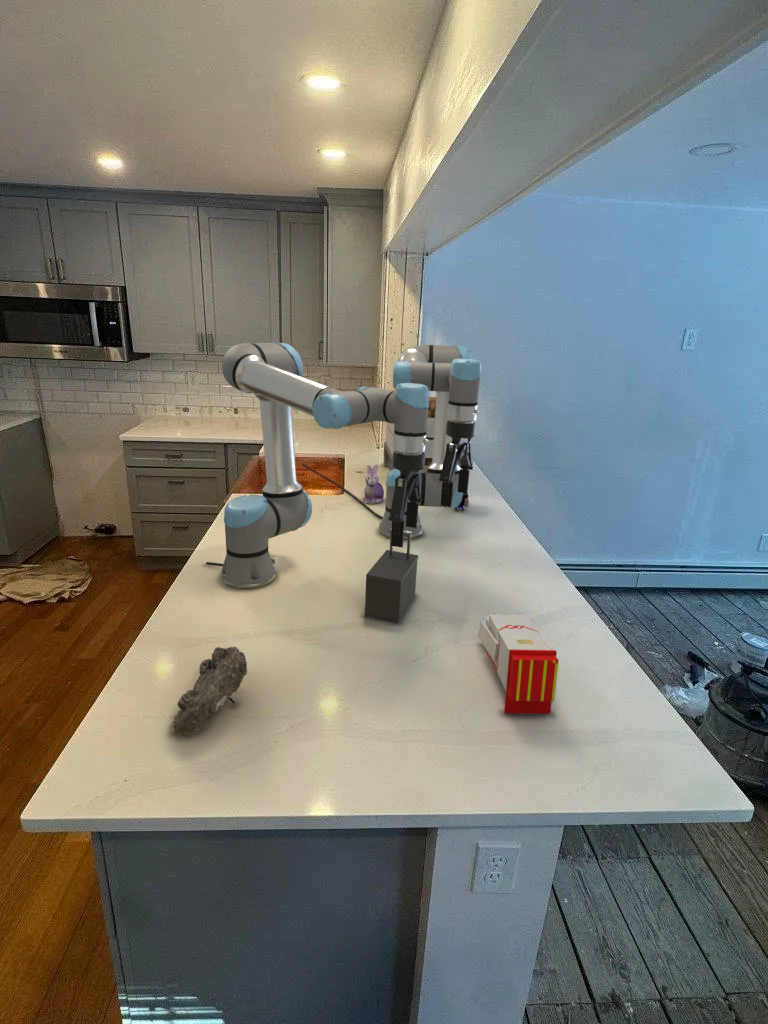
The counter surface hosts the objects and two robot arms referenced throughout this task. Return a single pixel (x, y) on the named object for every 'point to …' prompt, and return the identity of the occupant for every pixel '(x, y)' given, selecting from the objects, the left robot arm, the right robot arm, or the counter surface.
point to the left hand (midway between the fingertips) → (404, 536)
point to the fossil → (211, 689)
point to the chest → (389, 597)
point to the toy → (521, 662)
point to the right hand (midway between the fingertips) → (454, 499)
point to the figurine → (373, 486)
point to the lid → (393, 564)
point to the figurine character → (463, 502)
